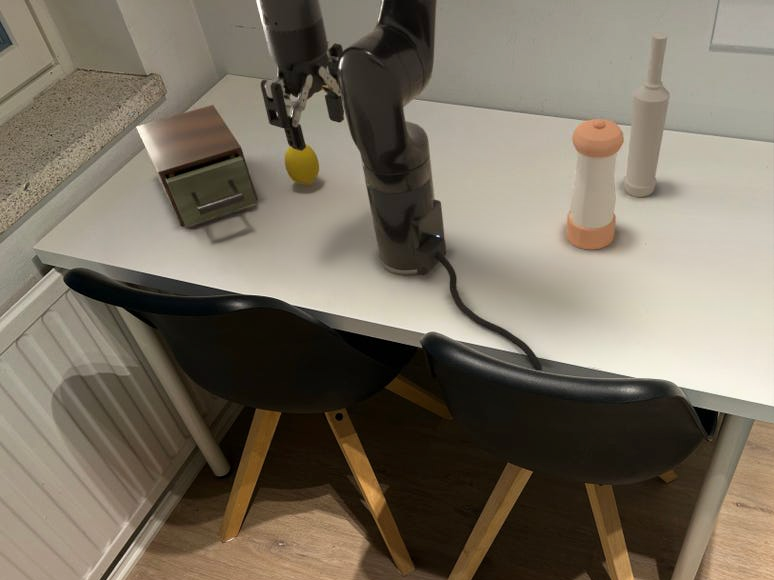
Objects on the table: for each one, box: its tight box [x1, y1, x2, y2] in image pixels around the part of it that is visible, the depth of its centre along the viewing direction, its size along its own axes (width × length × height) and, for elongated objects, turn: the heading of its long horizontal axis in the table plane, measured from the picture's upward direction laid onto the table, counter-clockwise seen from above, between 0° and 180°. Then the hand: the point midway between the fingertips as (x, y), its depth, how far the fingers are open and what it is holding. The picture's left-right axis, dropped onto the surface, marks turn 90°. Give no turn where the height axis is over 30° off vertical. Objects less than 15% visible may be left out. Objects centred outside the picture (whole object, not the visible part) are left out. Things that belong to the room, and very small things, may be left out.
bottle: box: [623, 32, 671, 198], centre depth 109 cm, size 5×5×25 cm
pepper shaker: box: [566, 118, 625, 251], centre depth 104 cm, size 7×7×19 cm
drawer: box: [166, 154, 258, 228], centre depth 117 cm, size 21×12×8 cm, turn 30°
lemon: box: [284, 143, 320, 186], centre depth 121 cm, size 6×6×8 cm
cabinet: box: [136, 104, 259, 227], centre depth 120 cm, size 17×13×10 cm
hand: (318, 134), depth 101 cm, fingers open, 8 cm apart
